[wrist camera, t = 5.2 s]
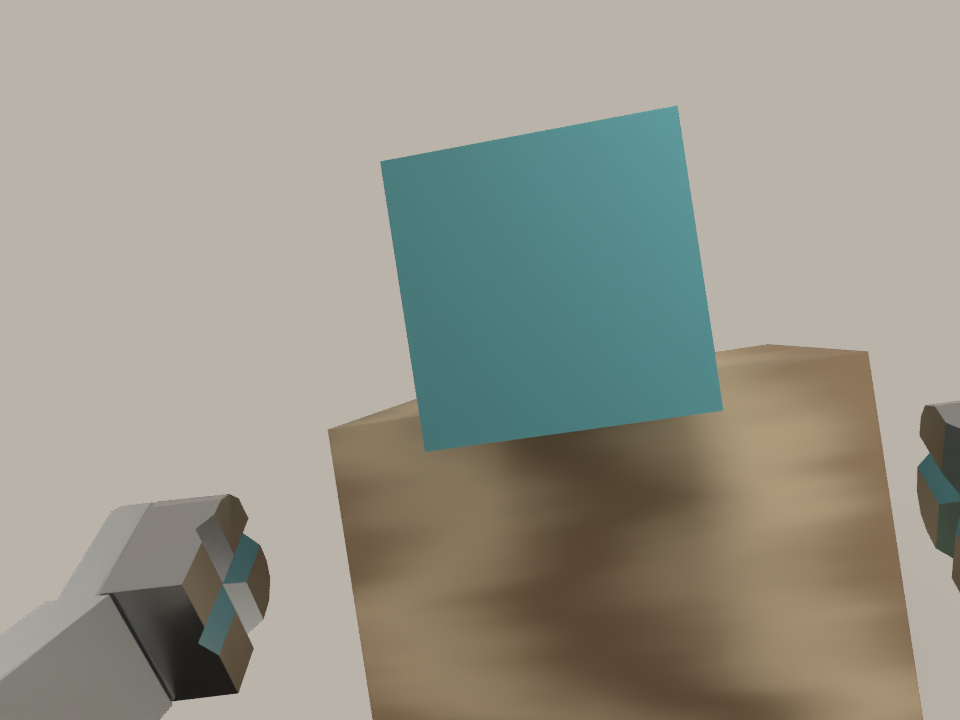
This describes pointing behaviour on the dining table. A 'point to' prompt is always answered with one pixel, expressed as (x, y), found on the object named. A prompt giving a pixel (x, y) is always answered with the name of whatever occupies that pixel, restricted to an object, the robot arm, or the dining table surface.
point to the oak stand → (638, 560)
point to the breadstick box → (552, 282)
